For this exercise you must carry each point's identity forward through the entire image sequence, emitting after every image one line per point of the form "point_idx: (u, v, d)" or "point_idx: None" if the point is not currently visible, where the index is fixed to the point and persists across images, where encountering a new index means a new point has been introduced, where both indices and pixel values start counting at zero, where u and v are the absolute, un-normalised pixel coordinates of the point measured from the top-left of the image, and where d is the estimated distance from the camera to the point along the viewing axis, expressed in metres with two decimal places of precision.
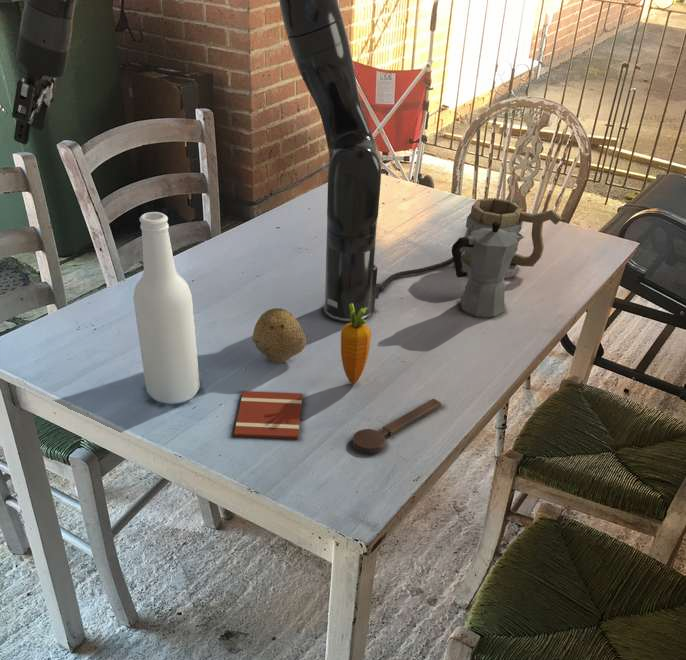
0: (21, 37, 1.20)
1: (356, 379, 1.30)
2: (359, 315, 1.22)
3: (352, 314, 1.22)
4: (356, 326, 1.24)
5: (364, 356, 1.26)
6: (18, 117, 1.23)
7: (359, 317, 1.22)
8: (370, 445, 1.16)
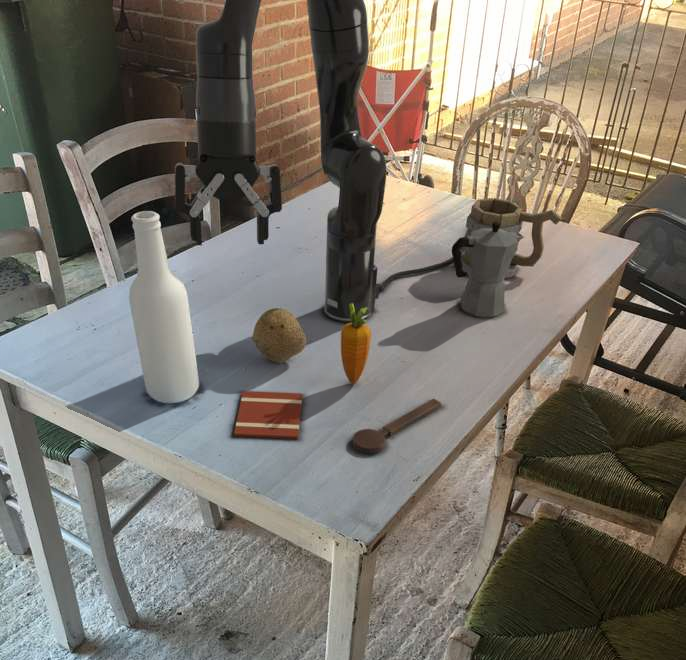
0: (247, 124, 0.96)
1: (356, 379, 1.30)
2: (359, 315, 1.22)
3: (352, 314, 1.22)
4: (356, 326, 1.24)
5: (364, 356, 1.26)
6: None
7: (359, 317, 1.22)
8: (370, 445, 1.16)
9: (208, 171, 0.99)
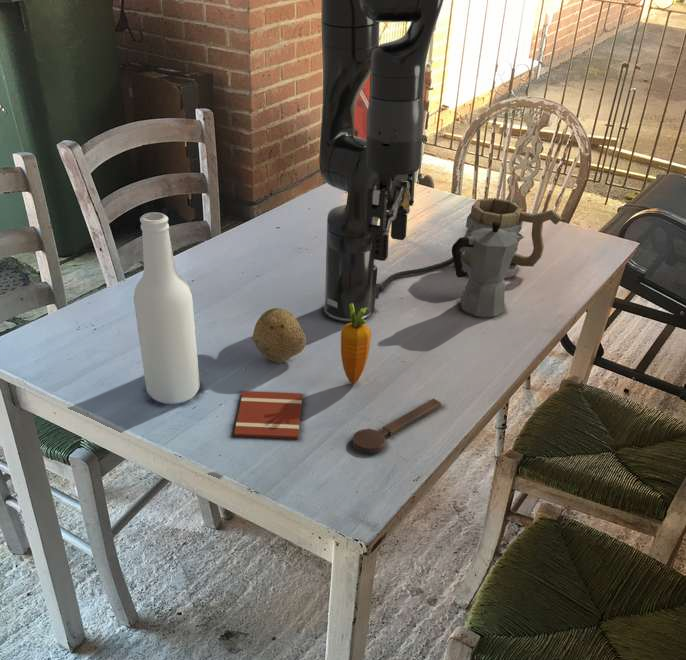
0: None
1: (356, 379, 1.30)
2: (359, 315, 1.22)
3: (352, 314, 1.22)
4: (356, 326, 1.24)
5: (364, 356, 1.26)
6: None
7: (359, 317, 1.22)
8: (370, 445, 1.16)
9: (393, 188, 1.03)
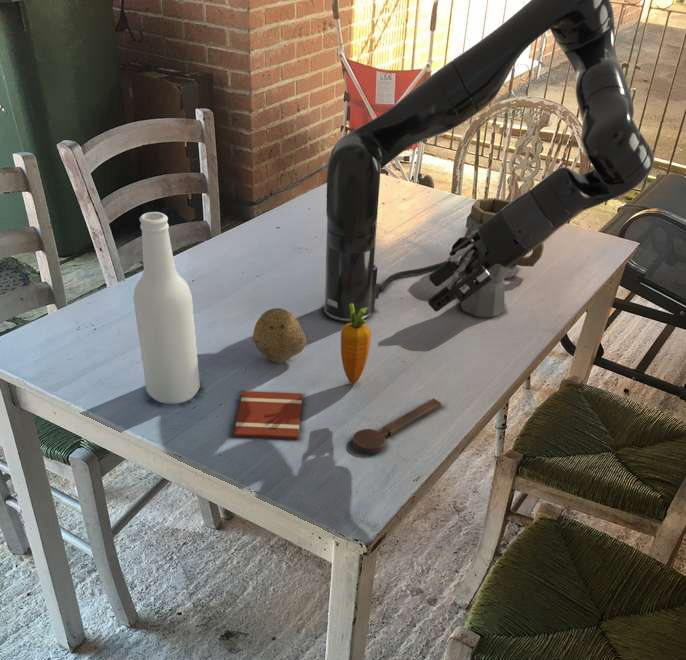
0: None
1: (356, 379, 1.30)
2: (359, 315, 1.22)
3: (352, 314, 1.22)
4: (356, 326, 1.24)
5: (364, 356, 1.26)
6: None
7: (359, 317, 1.22)
8: (370, 445, 1.16)
9: None
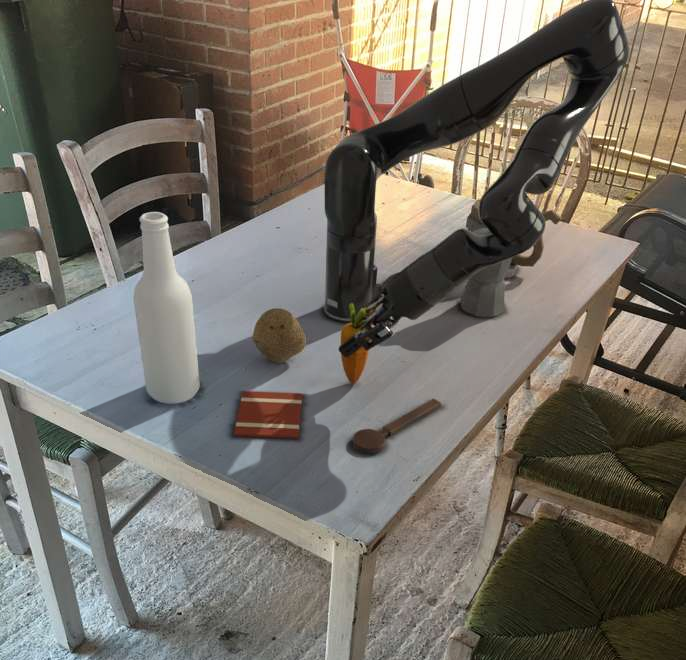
0: None
1: (356, 379, 1.30)
2: (359, 315, 1.22)
3: (352, 314, 1.22)
4: (356, 326, 1.24)
5: (364, 356, 1.26)
6: None
7: (359, 317, 1.22)
8: (370, 445, 1.16)
9: None
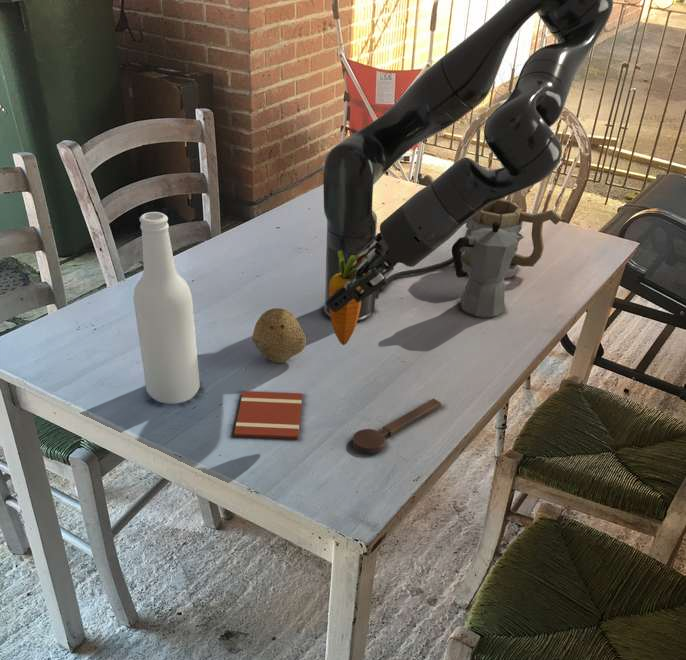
0: None
1: (347, 338, 1.15)
2: (349, 263, 1.07)
3: (341, 262, 1.07)
4: (346, 276, 1.09)
5: (355, 311, 1.12)
6: None
7: (349, 265, 1.07)
8: (370, 445, 1.16)
9: None
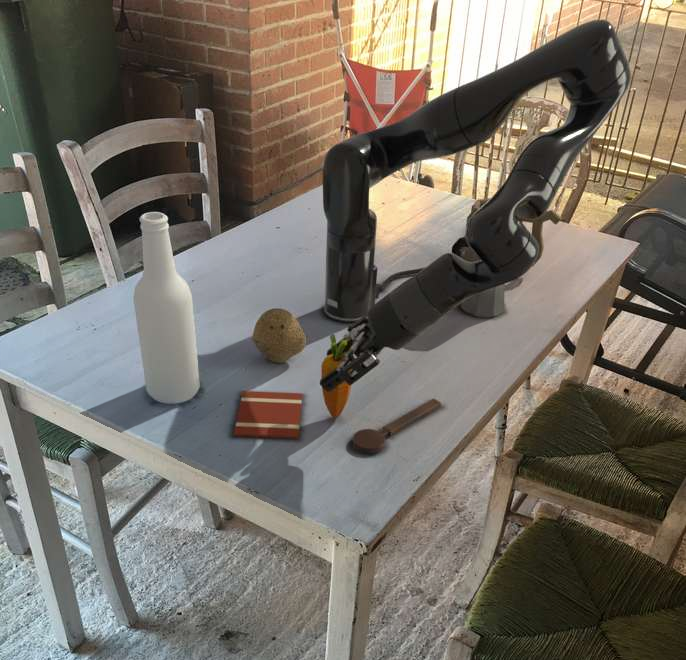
0: None
1: (338, 413, 1.22)
2: (340, 347, 1.14)
3: (332, 346, 1.14)
4: (337, 358, 1.16)
5: (346, 390, 1.18)
6: None
7: (340, 349, 1.14)
8: (370, 445, 1.16)
9: None
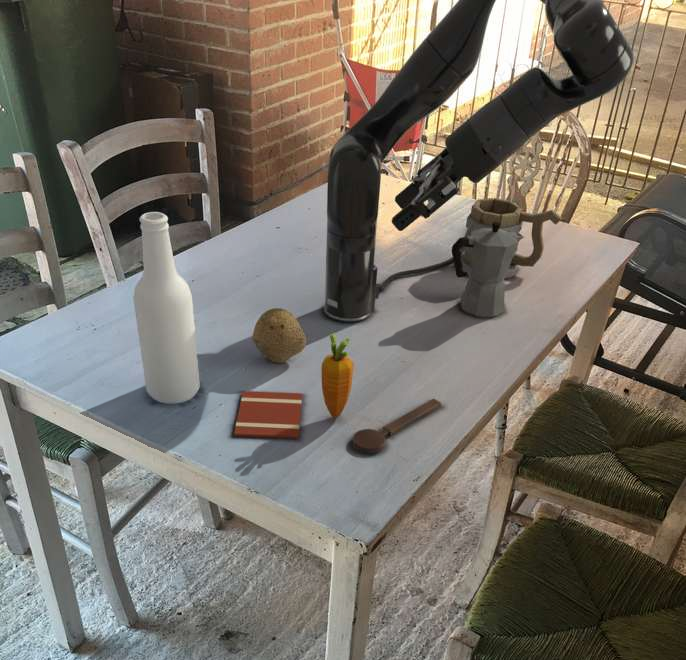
0: None
1: (338, 413, 1.22)
2: (340, 347, 1.14)
3: (332, 346, 1.14)
4: (337, 358, 1.16)
5: (346, 390, 1.18)
6: None
7: (340, 349, 1.14)
8: (370, 445, 1.16)
9: None
